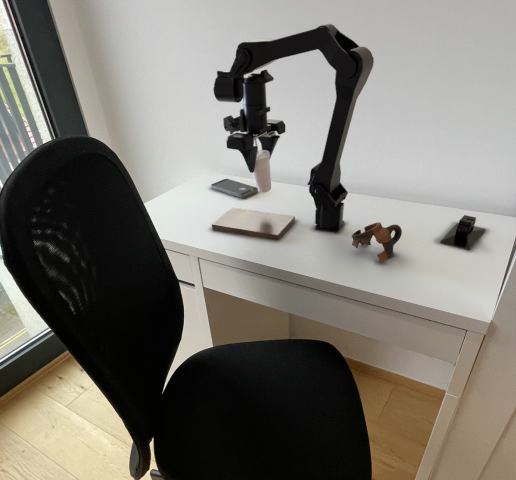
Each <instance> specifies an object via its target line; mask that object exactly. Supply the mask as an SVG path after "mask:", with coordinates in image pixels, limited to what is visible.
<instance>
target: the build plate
mask: <svg viewBox="0 0 516 480" xmlns="http://www.w3.org/2000/svg"><path fill="white" fill-rule="evenodd" d="M476 221H477V217H476V216H475V217H474V216H470V215H466V214H464V215H462V216H461V218H460V219H459V220H458V222H456V223H455V224H454V225H453V227H452V228H450V230H449V231H448V232H447V233H446V234H445V235H444V236H443V238H441V239H440V240H439V243H440V244H443V245H447V246H451V247H455V248H458V249H463V250H466V251H470V250H471V249H472V248H473V246H474V245H475V244H476V242H477V241H478V240H479V239H480V237H481V236H482V235H483V234H484V233H485V232H486V228H484V227H479V226H475V225H476Z"/></svg>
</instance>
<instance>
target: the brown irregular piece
mask: <svg viewBox="0 0 516 480" xmlns="http://www.w3.org/2000/svg"><path fill="white" fill-rule="evenodd" d="M363 230H364V231H363V232H362V230H361V229H358V230H356V231H355V232H353V233H352V235H351V239H352V242H351V246H352V247H353V246H354V247H355V249H357V250H358V249H359V248H358V247H359V245H361V246H362V247H363V246H371V245H372V244H371V241H372V238H373V237H374V238H375V241H376V242H377V243H378V244H381V245H382V248H383V251H381V252H380V253H377V255H376V257H377V259H378V263H379V264H382V263H384V262H386V261H388V260H390V259H392V257H394V246H395V245H396V244H397V243H398V242H399V241H400V239H401V238H402V234H403V230H402V228H401V226H400V225H398V224H391V225H389V226H386V227H384V226H383V225H382V223H381V222H375V223H371V224H369V225H367V226H365V227H363ZM393 231H394V234H393V236H392V232H393Z"/></svg>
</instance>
